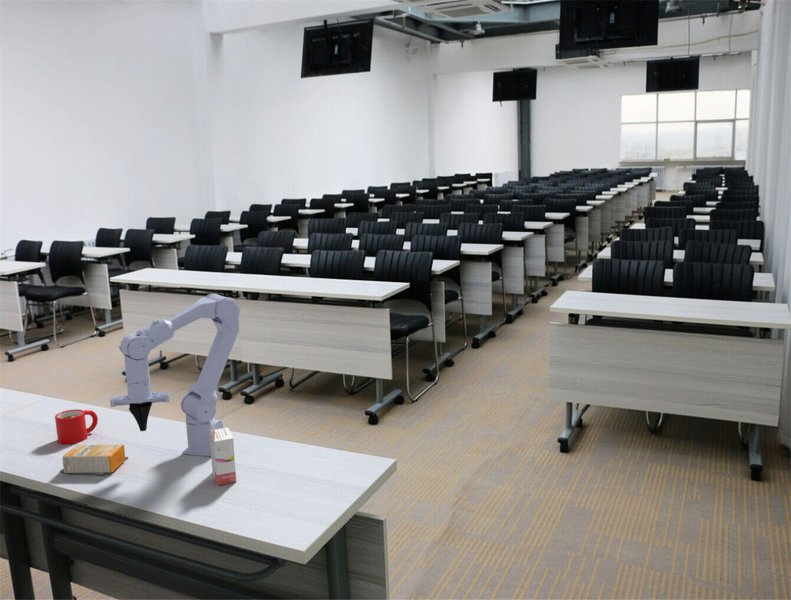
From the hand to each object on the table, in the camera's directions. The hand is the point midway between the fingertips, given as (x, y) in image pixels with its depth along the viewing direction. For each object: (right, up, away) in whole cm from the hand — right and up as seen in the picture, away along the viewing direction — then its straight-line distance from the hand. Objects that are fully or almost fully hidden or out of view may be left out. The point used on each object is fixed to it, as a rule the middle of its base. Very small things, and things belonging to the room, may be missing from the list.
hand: (143, 429), depth 183 cm
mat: (-14, -10, +3) cm, 18 cm away
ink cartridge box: (+23, -11, -5) cm, 26 cm away
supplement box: (-7, -8, +1) cm, 10 cm away
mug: (-27, -7, +23) cm, 37 cm away
